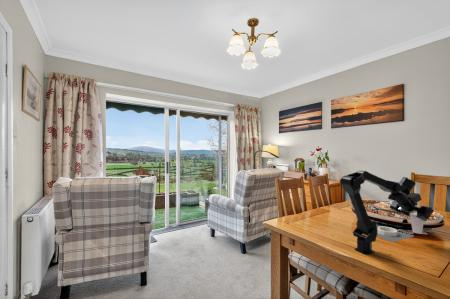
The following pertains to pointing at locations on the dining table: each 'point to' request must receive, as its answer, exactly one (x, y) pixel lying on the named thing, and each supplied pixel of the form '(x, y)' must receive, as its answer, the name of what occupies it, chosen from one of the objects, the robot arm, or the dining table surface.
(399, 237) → the mat
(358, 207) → the robot arm
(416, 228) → the smoothie
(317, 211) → the dining table surface
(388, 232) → the collar
